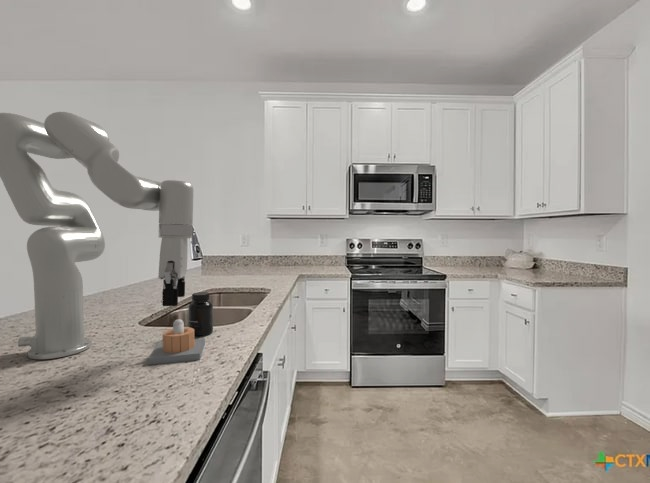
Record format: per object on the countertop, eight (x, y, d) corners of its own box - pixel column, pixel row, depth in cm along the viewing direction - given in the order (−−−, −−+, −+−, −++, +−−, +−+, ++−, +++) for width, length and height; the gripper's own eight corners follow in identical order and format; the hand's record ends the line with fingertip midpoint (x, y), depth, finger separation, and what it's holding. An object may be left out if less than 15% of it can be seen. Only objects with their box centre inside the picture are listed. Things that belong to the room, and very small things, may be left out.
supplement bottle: (187, 338, 91) (186, 296, 91) (190, 331, 98) (189, 291, 97) (212, 336, 93) (211, 294, 93) (214, 329, 100) (213, 290, 99)
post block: (148, 364, 73) (147, 327, 73) (160, 347, 84) (159, 315, 84) (199, 359, 76) (199, 323, 76) (204, 343, 87) (204, 312, 87)
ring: (160, 354, 76) (159, 337, 76) (166, 343, 83) (166, 328, 82) (192, 351, 78) (191, 334, 77) (196, 341, 84) (195, 326, 84)
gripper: (166, 230, 86) (165, 294, 87) (149, 232, 70) (147, 310, 70) (196, 231, 88) (195, 293, 89) (186, 233, 72) (184, 309, 72)
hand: (174, 300), depth 80 cm, fingers open, 9 cm apart
